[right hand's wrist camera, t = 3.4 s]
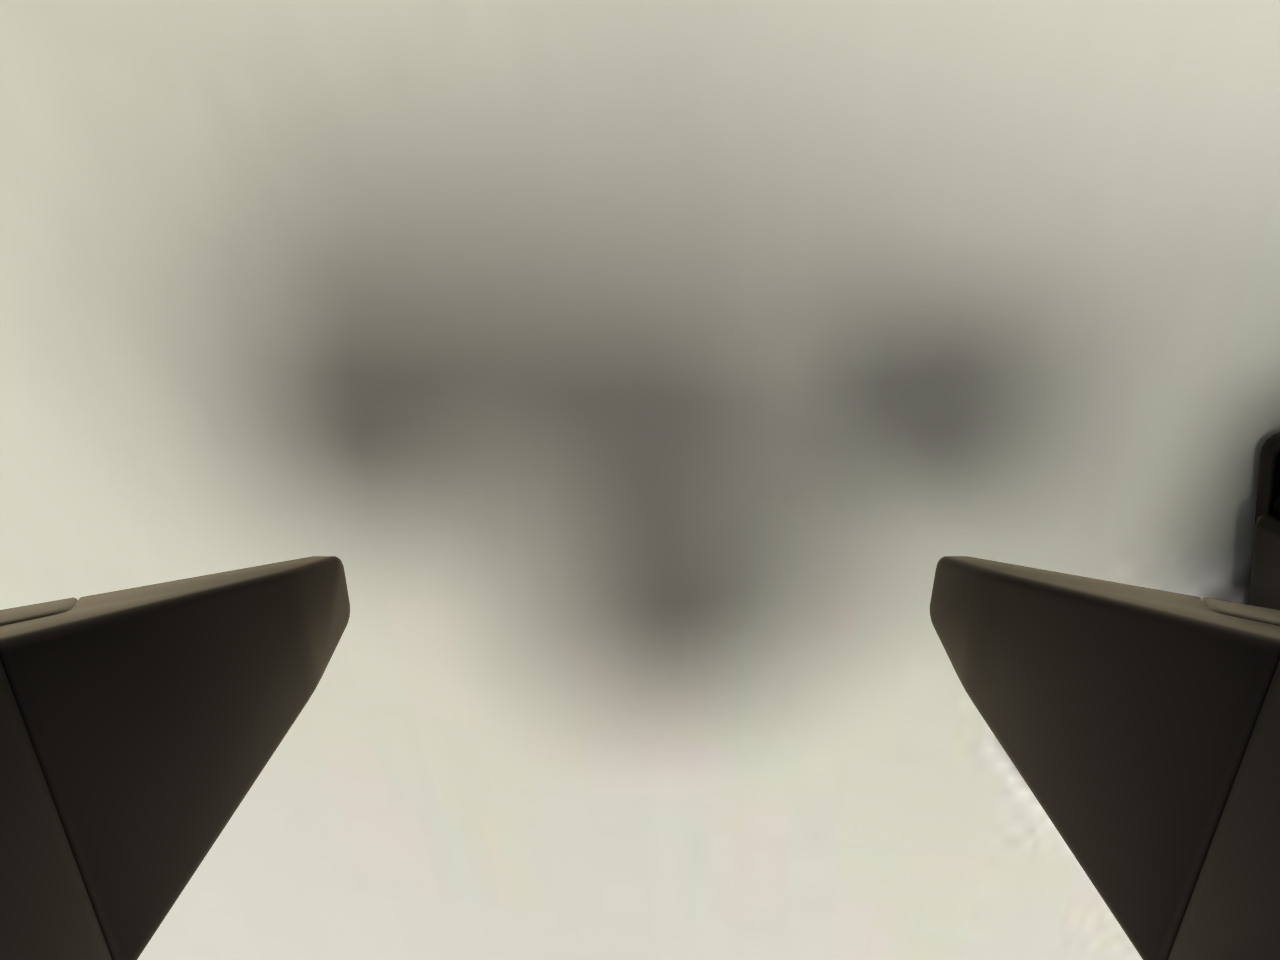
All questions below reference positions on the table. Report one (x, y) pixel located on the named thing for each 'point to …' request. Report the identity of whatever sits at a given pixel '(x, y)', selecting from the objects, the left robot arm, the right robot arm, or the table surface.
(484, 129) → the table surface
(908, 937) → the table surface
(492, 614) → the table surface
